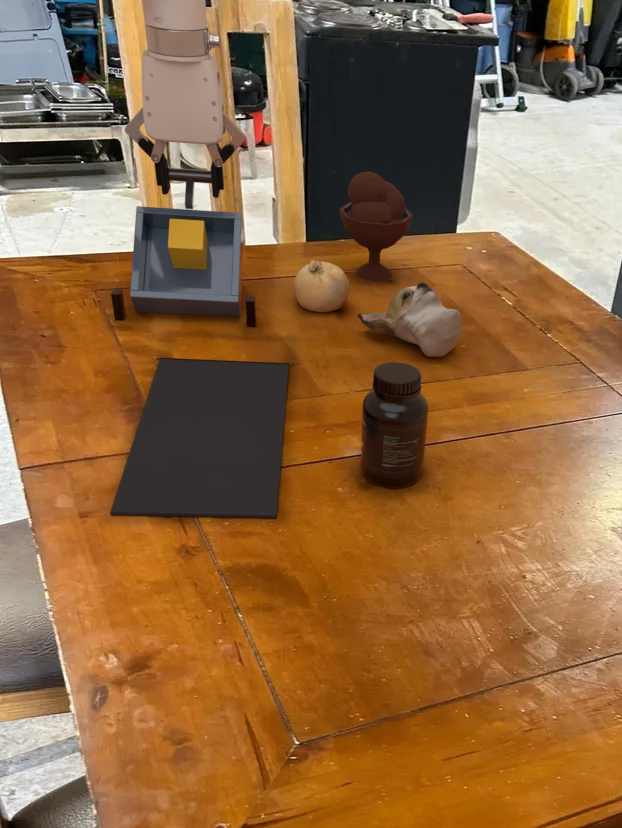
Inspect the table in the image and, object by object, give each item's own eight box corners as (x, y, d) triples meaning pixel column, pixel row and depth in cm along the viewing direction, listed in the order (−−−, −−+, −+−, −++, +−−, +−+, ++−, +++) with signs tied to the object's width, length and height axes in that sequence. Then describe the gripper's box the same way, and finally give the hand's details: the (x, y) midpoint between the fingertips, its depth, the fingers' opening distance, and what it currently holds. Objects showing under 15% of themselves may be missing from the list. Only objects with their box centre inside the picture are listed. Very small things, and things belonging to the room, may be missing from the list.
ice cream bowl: (380, 293, 134) (385, 189, 125) (324, 272, 139) (324, 169, 129) (422, 275, 141) (429, 175, 131) (367, 256, 146) (370, 157, 136)
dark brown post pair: (256, 331, 121) (254, 301, 118) (115, 324, 118) (110, 293, 115) (256, 326, 122) (255, 296, 119) (117, 319, 119) (112, 288, 117)
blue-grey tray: (240, 317, 122) (237, 296, 117) (135, 312, 120) (127, 290, 115) (245, 195, 127) (242, 170, 122) (144, 188, 125) (136, 162, 120)
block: (173, 268, 122) (167, 247, 118) (175, 239, 123) (169, 218, 119) (206, 270, 122) (202, 249, 118) (208, 242, 124) (204, 220, 119)
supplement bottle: (360, 454, 100) (363, 355, 92) (420, 457, 100) (429, 358, 92) (360, 488, 94) (363, 386, 87) (423, 491, 95) (433, 390, 87)
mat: (110, 515, 87) (110, 512, 87) (169, 330, 118) (169, 328, 118) (276, 518, 89) (276, 515, 89) (291, 336, 120) (291, 333, 120)
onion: (296, 294, 131) (295, 246, 126) (350, 298, 132) (351, 250, 127) (292, 317, 125) (290, 267, 120) (348, 321, 126) (349, 271, 121)
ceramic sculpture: (426, 306, 110) (352, 272, 119) (423, 372, 115) (353, 335, 124) (487, 291, 116) (413, 259, 124) (481, 354, 121) (411, 320, 130)
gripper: (249, 43, 115) (256, 189, 127) (111, 30, 113) (131, 180, 124) (246, 54, 109) (253, 206, 121) (100, 41, 107) (122, 197, 119)
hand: (191, 191), depth 123 cm, fingers closed on blue-grey tray, 6 cm apart
